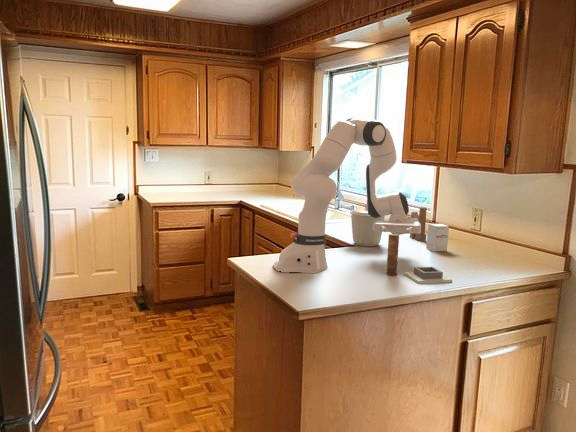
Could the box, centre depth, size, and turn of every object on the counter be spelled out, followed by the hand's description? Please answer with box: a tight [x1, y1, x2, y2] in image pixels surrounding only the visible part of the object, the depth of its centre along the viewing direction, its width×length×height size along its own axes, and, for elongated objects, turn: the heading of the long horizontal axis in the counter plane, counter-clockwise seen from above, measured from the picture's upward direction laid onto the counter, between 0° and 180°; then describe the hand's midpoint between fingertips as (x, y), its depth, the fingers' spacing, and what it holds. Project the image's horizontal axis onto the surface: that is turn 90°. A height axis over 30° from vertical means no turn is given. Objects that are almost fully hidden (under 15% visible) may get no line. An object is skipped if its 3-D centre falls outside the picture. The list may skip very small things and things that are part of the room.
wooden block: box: [409, 206, 427, 242], centre depth 263 cm, size 4×11×18 cm, turn 16°
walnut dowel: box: [386, 233, 400, 277], centre depth 193 cm, size 4×4×16 cm
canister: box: [349, 203, 386, 247], centre depth 247 cm, size 18×18×21 cm
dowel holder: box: [404, 266, 453, 285], centre depth 190 cm, size 14×12×4 cm
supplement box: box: [426, 223, 450, 252], centre depth 239 cm, size 7×7×13 cm
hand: (396, 230), depth 204 cm, fingers open, 8 cm apart
